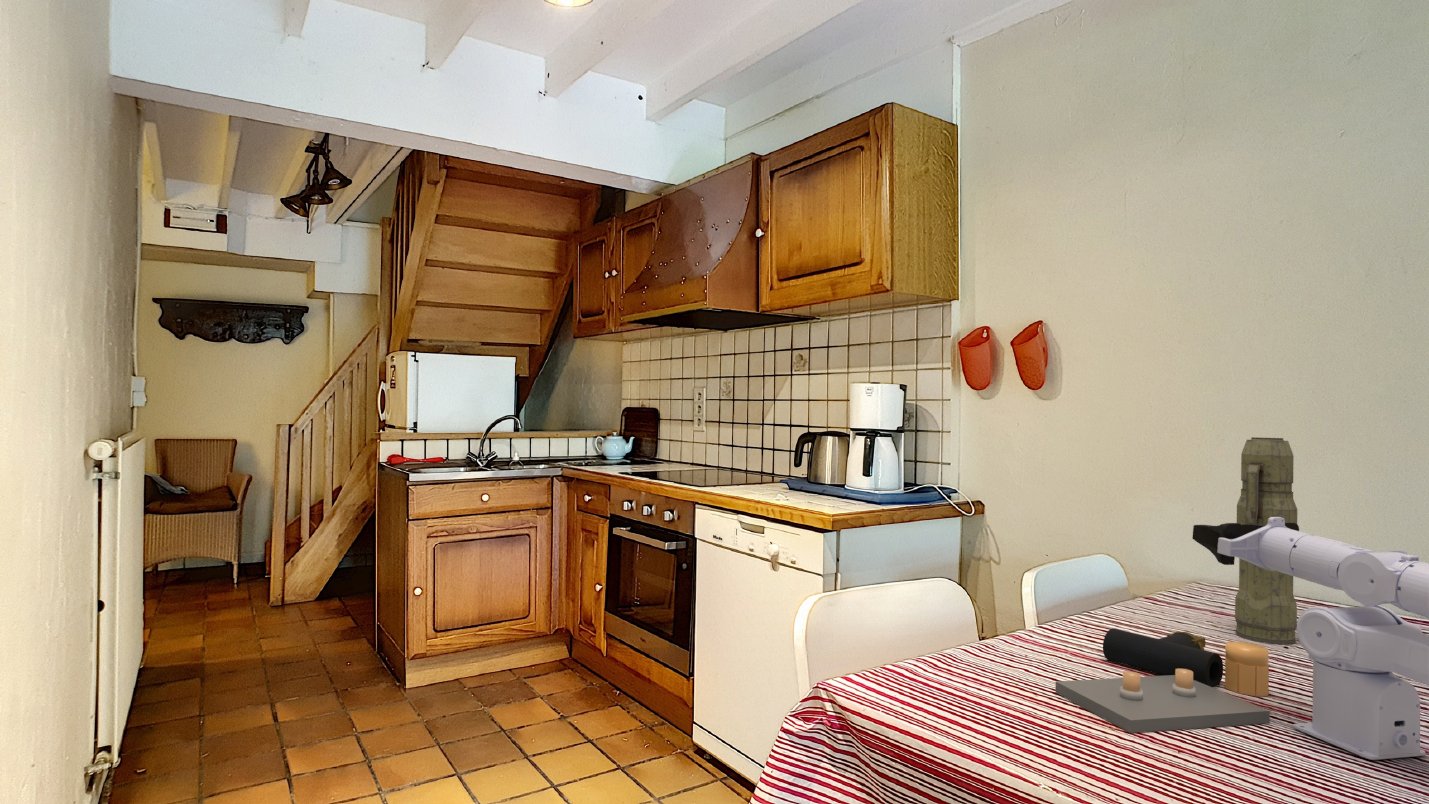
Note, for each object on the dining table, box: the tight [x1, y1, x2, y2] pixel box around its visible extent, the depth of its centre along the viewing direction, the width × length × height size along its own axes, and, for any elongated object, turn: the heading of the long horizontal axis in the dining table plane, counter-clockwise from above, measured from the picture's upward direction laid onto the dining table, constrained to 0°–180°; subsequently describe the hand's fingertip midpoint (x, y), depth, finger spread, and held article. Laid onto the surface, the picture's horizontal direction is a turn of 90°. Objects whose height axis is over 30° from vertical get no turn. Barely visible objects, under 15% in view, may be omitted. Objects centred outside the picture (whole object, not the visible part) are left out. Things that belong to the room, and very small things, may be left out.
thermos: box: [1234, 437, 1298, 646], centre depth 140 cm, size 9×12×35 cm
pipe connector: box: [1102, 627, 1224, 688], centre depth 120 cm, size 12×5×15 cm
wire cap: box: [1224, 641, 1270, 697], centre depth 111 cm, size 5×5×6 cm
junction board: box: [1055, 668, 1271, 734], centre depth 103 cm, size 14×20×4 cm
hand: (1217, 531), depth 113 cm, fingers open, 7 cm apart
